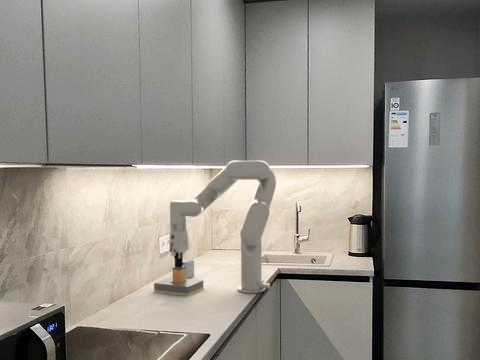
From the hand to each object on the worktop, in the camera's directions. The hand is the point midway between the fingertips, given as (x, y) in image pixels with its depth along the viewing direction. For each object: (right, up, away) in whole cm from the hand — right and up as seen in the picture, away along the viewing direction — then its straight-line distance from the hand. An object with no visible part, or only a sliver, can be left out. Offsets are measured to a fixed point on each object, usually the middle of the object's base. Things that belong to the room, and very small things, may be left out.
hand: (178, 266), depth 224 cm
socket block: (0, -11, 0) cm, 11 cm away
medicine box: (0, -11, +27) cm, 30 cm away
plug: (0, -10, 0) cm, 10 cm away
